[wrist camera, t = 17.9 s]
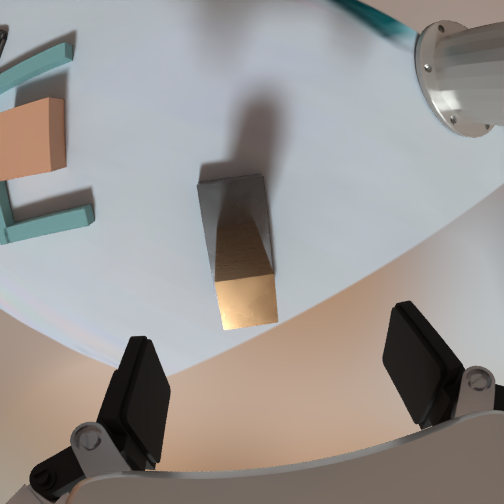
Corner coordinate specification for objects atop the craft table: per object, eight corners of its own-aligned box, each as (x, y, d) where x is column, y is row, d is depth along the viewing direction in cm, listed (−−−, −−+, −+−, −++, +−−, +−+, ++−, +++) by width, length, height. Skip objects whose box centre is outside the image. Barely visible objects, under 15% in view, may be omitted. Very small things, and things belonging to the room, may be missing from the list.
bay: (72, 45, 18) (64, 41, 16) (95, 220, 24) (88, 225, 22) (-15, 89, 17) (-24, 88, 16) (9, 239, 23) (1, 245, 22)
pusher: (198, 182, 24) (181, 218, 14) (260, 173, 24) (288, 203, 14) (217, 292, 27) (217, 375, 18) (272, 284, 28) (297, 363, 18)
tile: (65, 99, 20) (48, 97, 17) (67, 166, 22) (51, 171, 19) (15, 113, 19) (-4, 114, 16) (18, 175, 21) (0, 181, 19)
